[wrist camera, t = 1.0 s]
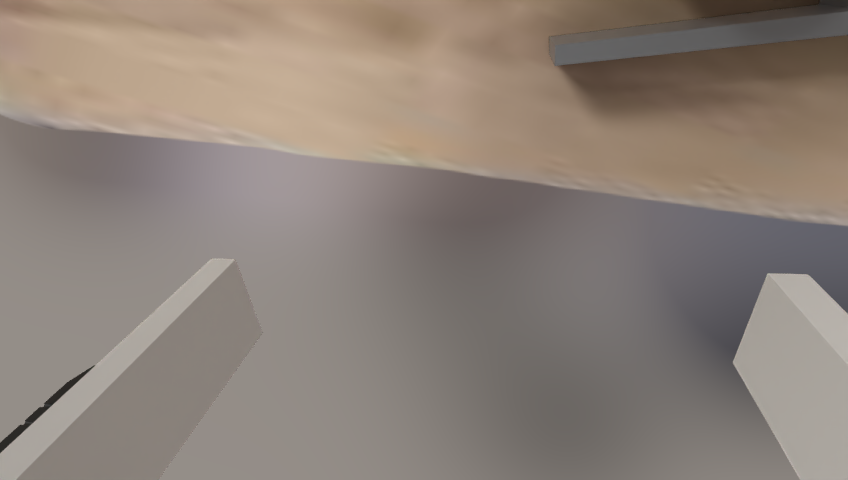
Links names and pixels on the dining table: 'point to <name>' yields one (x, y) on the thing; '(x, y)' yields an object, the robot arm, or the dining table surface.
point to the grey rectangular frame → (703, 33)
